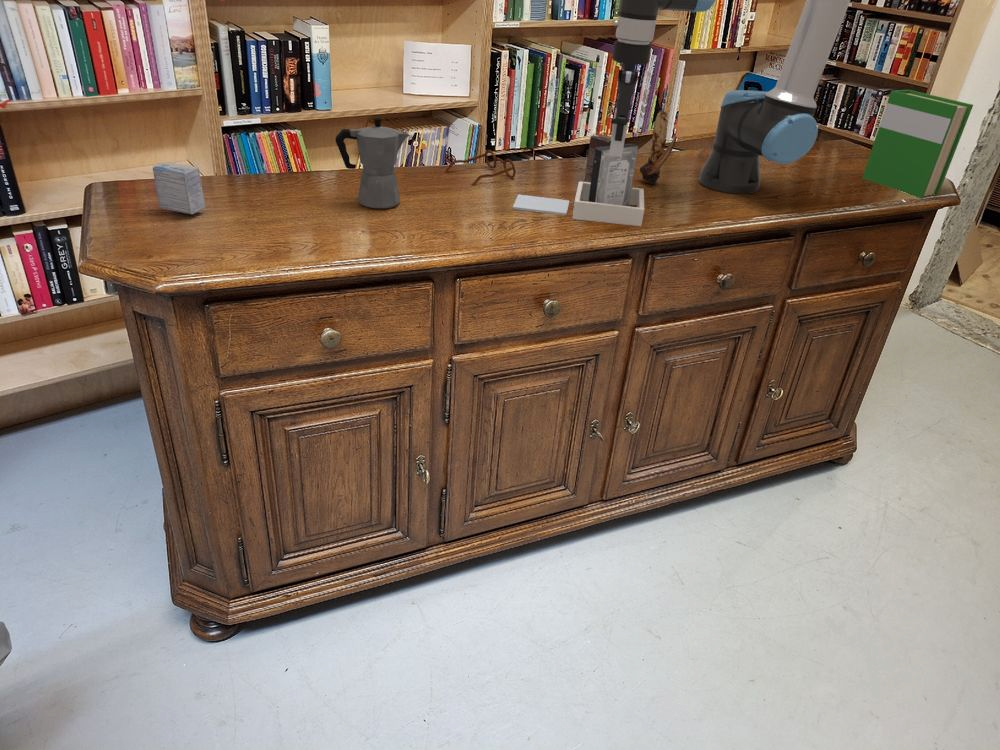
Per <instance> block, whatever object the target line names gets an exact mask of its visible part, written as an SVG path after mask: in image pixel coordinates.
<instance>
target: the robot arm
mask: <svg viewBox="0 0 1000 750" xmlns="http://www.w3.org/2000/svg"><path fill="white" fill-rule="evenodd" d="M715 2H716V0H620V1H619V3H620V4H619V10H618V16H617V18H618V20H615V21H614V22H613V26H615V27H617V28H616V31H615V37H616V38H617V40H616V39H615V41H613V42H614V43H613V48H612V57H611V59H612V61H614V62H615V63H620V64H622V69H618V73H617V90H616V93H617V99H616V103H615V107H616V108H615V110H614V117H613V118H611V121H610V124H612V128H611V136H610V137H611V145H610V151H609V156H617V157H622V153H623V147H624V144H625V142H626V141H625V140H626V133H627V130H628V129H627V127H628V123H629V114H630V111H631V109H632V104H631V102H632V96H633V95H634V93H635V89H636V88H635V87H636V84H637V82H638V76H639V74H638V73H639V71H635V69H636V65H638V66H643V65H647V64H649V62H650V59H651V58H650V57H651V52H652V45H651V44H650V43H651V42H652V41H653V40H654V35H655V31H656V24H657V17H658V12H659V10H660V11H664V10H666V11H675V12H676V11H677V12H678V11H679V12H691V13H704V12H707V11H709V10H710V9H711V8H712V6H714V4H715ZM850 2H851V0H805V2H804V6H803V9H802V11H801V14H800V17H799V20H798V22H797V25H796V27H795V31H794V34H793V37H792V39H791V42H790V45H789V48H788V51H787V53H786V56H785V59H784V61H783V64H782V67H781V70H780V72H779V76H778V78H777V81H776V85H775V87H773V88H772V89H771V90H769V91H762V90H742V89H737V90H736V89H735V90H734V89H733V90H729V91H727V92H726V93H725V94H724V97H723V100H722V103H721V106H720V111H719V117H718V121H717V126H716V130H715V136H714V140H713V145H712V150H711V153H710V154H709V156H708V158H707V159H706V161H705V163H704V164H703V166H702V169H701V170H700V172H699V176H698V177H699V178H698V183H700V184H701V185H702V186H704V187H706V188H709V189H711V190H714V191H717V192H718V191H719V192H722V193H723V192H724V193H727V194H738V195H743V194H745V195H746V194H747V193H748V194H753V193H752V192H754V193H756V192H758V191H759V190H760V186H761V185H760V184H761V167H760V156H761V157H763V158H765V159H766V160H767V161H770V162H775V163H777V164H781V165H787V164H791V163H794V162H797V161H798V160H799V159H800V158H803V157H804V156H805V155H807V154H808V152H809V151H811V149H812V147H813V146H814V144H815V142H816V140H817V138H818V135H819V133H818V132H819V128H818V122H817V120H816V119H815V118H814V115H815V113H816V110H817V108H818V106H817V102H816V101H815V98H814V97H815V93H816V91H817V88H818V86H819V83H820V80H821V78H822V75H823V73H824V69H825V67H826V65H827V62H828V59H829V57H830V54H831V52H832V49H833V47H834V45H835V41H836V38H837V37H838V36H837V35H838V33H839V31H840V28H841V26H842V23H843V22H844V21H843V20H844V17H845V16H846V13H847V9H848V8H849V6H850V5H849V4H851V3H850ZM757 190H758V191H757Z"/></svg>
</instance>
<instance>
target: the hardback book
mask: <svg viewBox="0 0 1000 750" xmlns="http://www.w3.org/2000/svg"><path fill="white" fill-rule="evenodd" d="M887 99H888V100H887V103H886V105H885V109H884V111H883V114H882V118H881V120H880V123H879V126H878V130H877V133H876V136H875V139H874V141H873V145H872V148H871V151H870V154H869V156H868V160H867V161H866V162H867V164H866V166H865V168H864V172H863V175H862V178H863V179H866V180H869V181H872V182H875V183H878V184H881V185H885V186H888V187H891V188H894V189H897V190H900V191H903V192H906V193H908V194H910V195H909V196H911V195H913V196H912V197H914V196H916V197H915V198H917V197H918V199H921V200H922V199H924V196H926V197H928V196H927V195H931V196H933V195H932V194H935V195H938V196H939V195H940V191H941V189H942V187H943V184H944V181H945V178H946V176H947V173H948V171H949V168H950V166H951V163H952V161H953V158H954V156H955V153H956V151H957V148H958V145H959V144H960V140H961V138H962V135H963V132H964V130H965V127H966V125H967V122H968V119H969V118H970V115H971V112H972V110H973V107H974V104H972V103H967V102H963V101H959V100H954V99H950V98H946V97H941V96H939V95H938V96H937V95H934V94H929V93H925V92H921V91H916V90H911V89H901V90H900V89H897V90H890V93H889V96H888V98H887ZM862 178H861V179H862ZM863 179H862V180H863ZM866 180H865V181H866ZM869 181H868V182H869ZM872 182H871V183H872ZM875 183H874V184H875ZM878 184H877V185H878ZM881 185H880V186H881ZM908 194H907V195H908ZM935 195H934V196H935Z"/></svg>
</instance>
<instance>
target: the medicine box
mask: <svg viewBox="0 0 1000 750" xmlns="http://www.w3.org/2000/svg"><path fill="white" fill-rule="evenodd" d="M152 172H153V173H152V174H153V178H154V184H155V189H156V194H157V201H158V207H159V209H164V210H168V211H174V212H177V213H182V214H189V215H194V214H196V213H199V212H201V211H202V210H204V209H206V205H205V204H206V203H205V199H204V192H203V185H202V178H201V174H200V167H198V166H193V165H187V164H181V163H176V162H171V161H165V162H160V163H159V164H156V165H154V166H152Z"/></svg>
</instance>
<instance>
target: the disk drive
mask: <svg viewBox="0 0 1000 750" xmlns="http://www.w3.org/2000/svg"><path fill="white" fill-rule="evenodd" d="M638 148H639V146H638V145H636V144H634V143H624V147H623V153H622V157H617V156H609V151H610V146H603V147H596V148H595V156H594V161H593V171H592V178H591V185H590V193H589V200H587V202H596V203H604V204H613V205H621V206H630V205H629V200H630V194H631V189H632V187H633V182H634V175H635V169H636V163H637V158H638V151H639V149H638Z"/></svg>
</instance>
